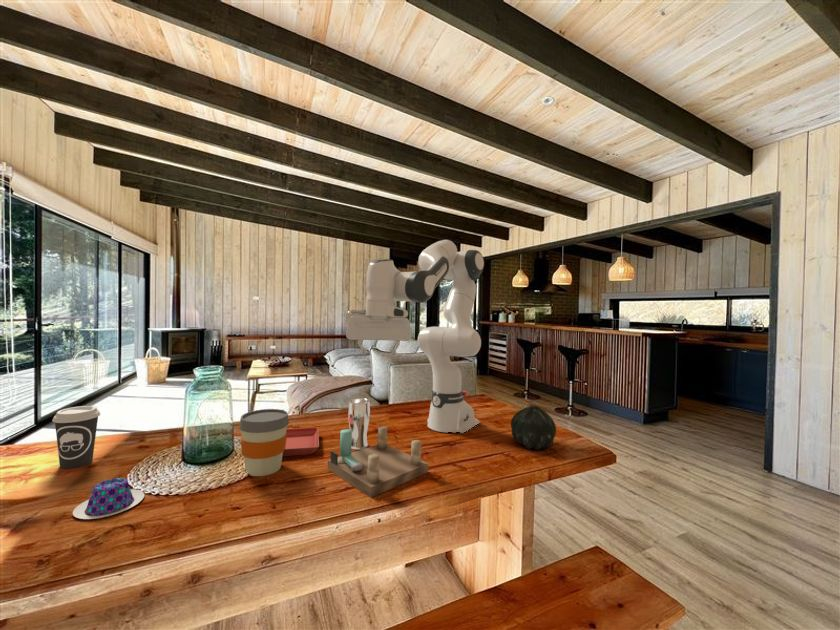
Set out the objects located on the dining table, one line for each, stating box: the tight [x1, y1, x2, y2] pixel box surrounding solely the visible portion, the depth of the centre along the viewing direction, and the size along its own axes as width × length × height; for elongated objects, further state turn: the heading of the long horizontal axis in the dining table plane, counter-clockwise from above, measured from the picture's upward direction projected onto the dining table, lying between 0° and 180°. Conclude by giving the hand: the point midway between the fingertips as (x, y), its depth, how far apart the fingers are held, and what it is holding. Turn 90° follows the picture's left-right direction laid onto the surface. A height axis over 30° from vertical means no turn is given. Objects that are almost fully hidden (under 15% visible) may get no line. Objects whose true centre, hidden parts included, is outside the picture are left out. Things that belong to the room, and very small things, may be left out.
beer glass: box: [347, 397, 371, 451], centre depth 116 cm, size 7×7×15 cm
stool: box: [327, 425, 429, 498], centre depth 99 cm, size 20×20×8 cm
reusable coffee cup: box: [238, 408, 289, 477], centre depth 98 cm, size 13×12×15 cm
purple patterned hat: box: [72, 477, 145, 520], centre depth 79 cm, size 12×12×5 cm
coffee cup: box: [52, 405, 101, 470], centre depth 98 cm, size 10×10×15 cm
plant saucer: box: [282, 427, 320, 457], centre depth 114 cm, size 18×18×3 cm
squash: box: [510, 405, 557, 451], centre depth 122 cm, size 14×15×15 cm
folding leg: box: [339, 428, 363, 471], centre depth 97 cm, size 11×3×8 cm, turn 34°
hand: (378, 354), depth 111 cm, fingers open, 8 cm apart
